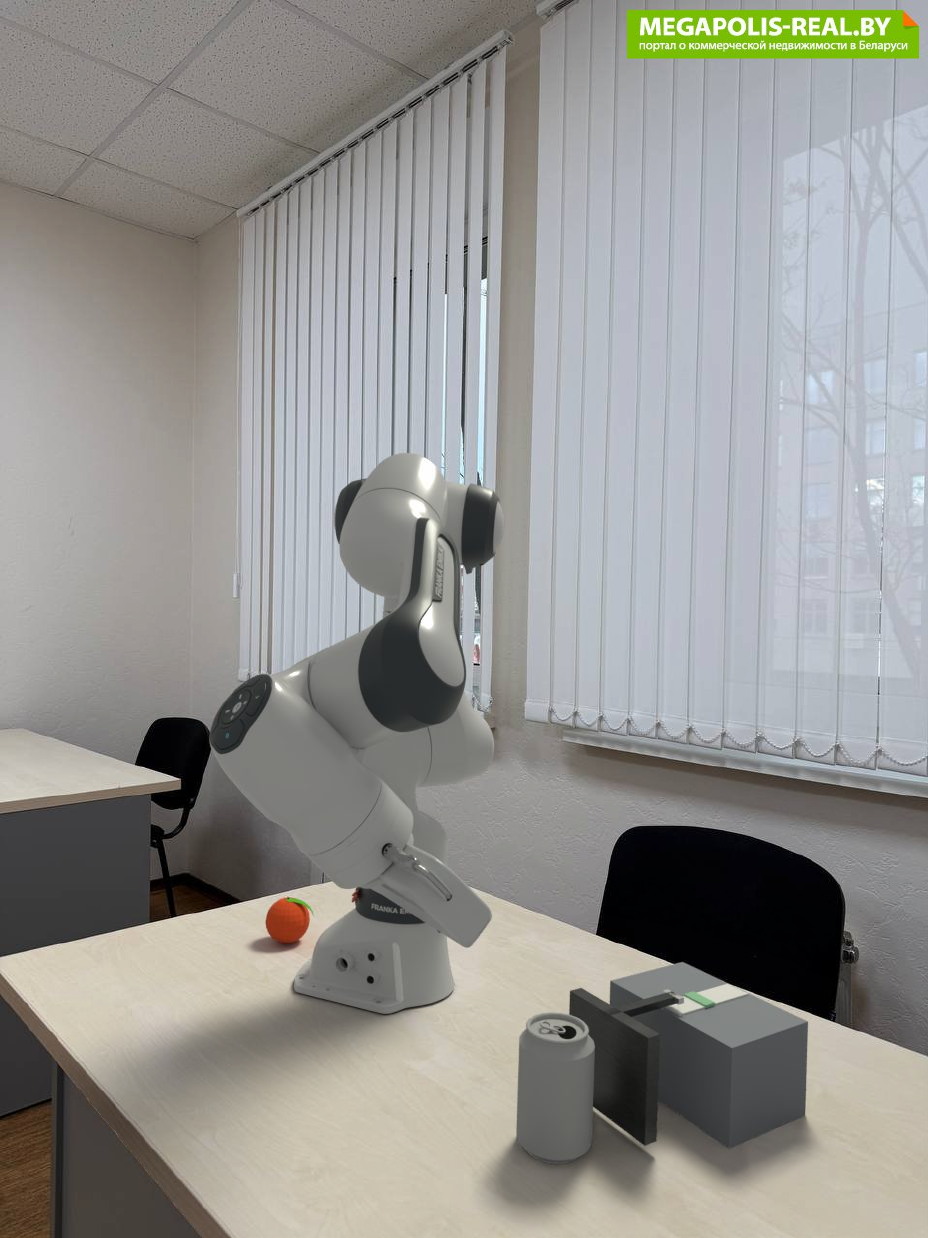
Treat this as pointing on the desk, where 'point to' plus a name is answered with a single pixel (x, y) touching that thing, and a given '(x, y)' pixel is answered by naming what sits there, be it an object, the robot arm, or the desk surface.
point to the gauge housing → (722, 1053)
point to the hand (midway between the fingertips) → (454, 929)
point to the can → (555, 1088)
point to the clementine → (288, 920)
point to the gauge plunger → (624, 1060)
